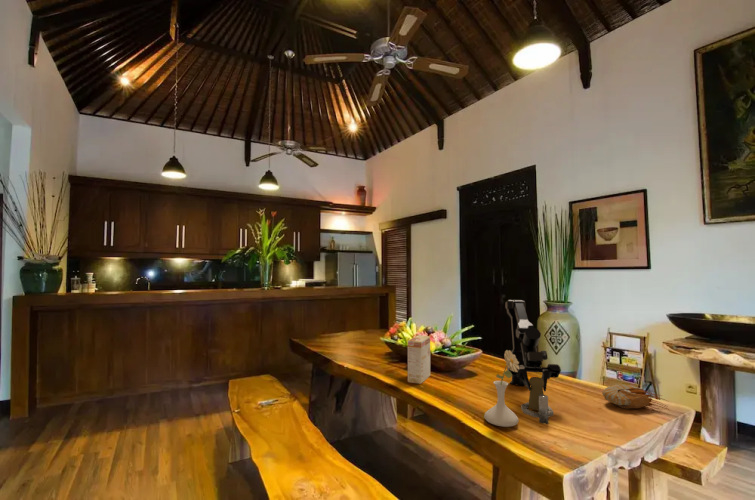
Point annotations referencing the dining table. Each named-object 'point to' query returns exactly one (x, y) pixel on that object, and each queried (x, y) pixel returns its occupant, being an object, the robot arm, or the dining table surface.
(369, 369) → the dining table surface
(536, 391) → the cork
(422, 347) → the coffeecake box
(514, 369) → the flower in vase
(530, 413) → the octagon frame
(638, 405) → the nautilus
